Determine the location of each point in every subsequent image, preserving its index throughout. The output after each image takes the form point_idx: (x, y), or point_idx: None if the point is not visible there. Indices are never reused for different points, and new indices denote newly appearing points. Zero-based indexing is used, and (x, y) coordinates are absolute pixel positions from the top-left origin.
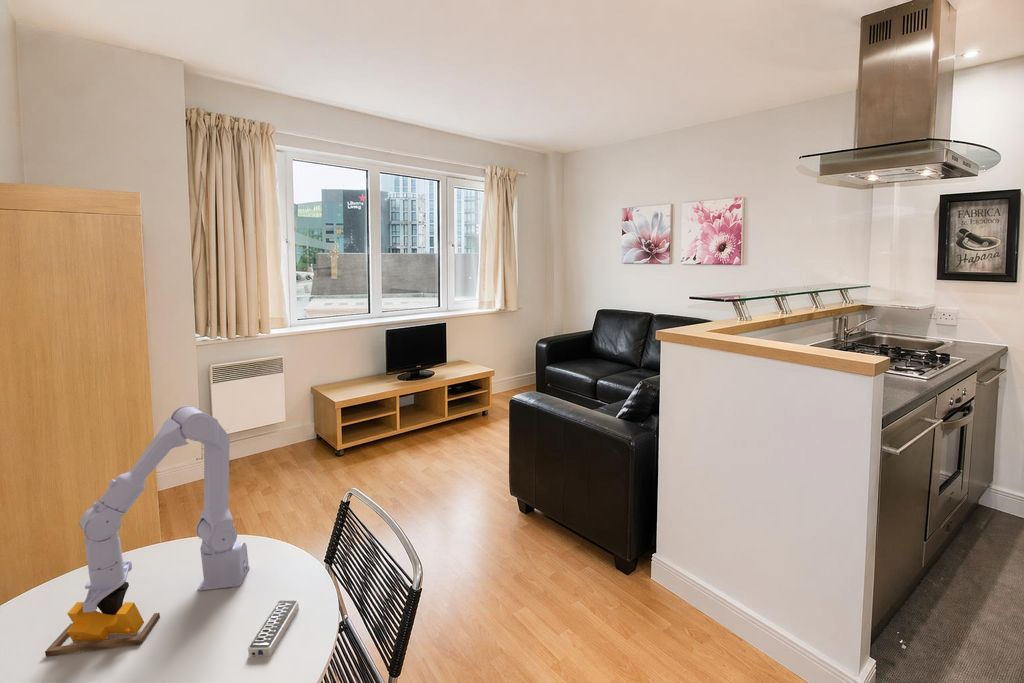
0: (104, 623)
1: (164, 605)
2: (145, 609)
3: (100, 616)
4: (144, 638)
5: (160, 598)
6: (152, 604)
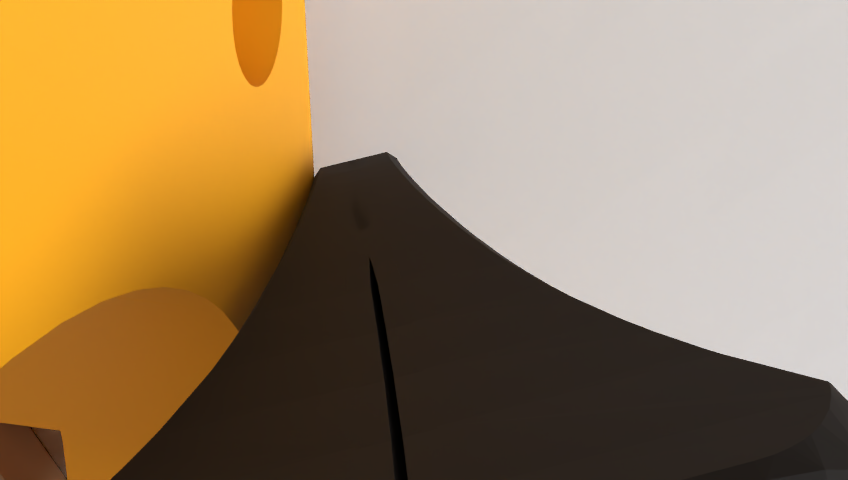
0: (96, 393)
1: None
2: (645, 312)
3: (161, 325)
4: None
5: (822, 328)
6: (727, 321)
